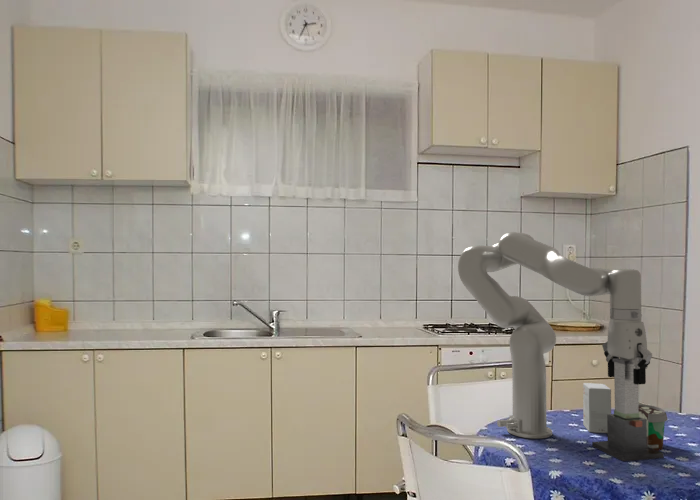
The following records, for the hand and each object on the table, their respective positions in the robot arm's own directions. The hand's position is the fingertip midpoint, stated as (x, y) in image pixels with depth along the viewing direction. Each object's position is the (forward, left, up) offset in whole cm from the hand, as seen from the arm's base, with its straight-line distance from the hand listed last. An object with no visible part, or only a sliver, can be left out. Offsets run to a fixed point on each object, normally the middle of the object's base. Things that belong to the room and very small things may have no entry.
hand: (626, 380), depth 149 cm
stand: (0, 0, -19) cm, 19 cm away
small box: (+6, +20, -19) cm, 28 cm away
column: (0, 0, -11) cm, 11 cm away
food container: (+11, +3, -19) cm, 22 cm away
